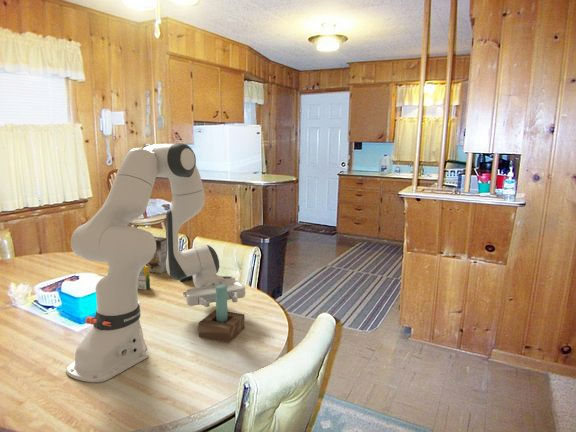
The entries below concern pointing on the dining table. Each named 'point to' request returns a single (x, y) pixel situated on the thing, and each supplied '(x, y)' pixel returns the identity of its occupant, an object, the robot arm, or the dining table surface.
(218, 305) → the peg
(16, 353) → the dining table surface
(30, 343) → the dining table surface
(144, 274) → the crayon box
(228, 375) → the dining table surface
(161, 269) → the coffee box
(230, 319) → the socket block
